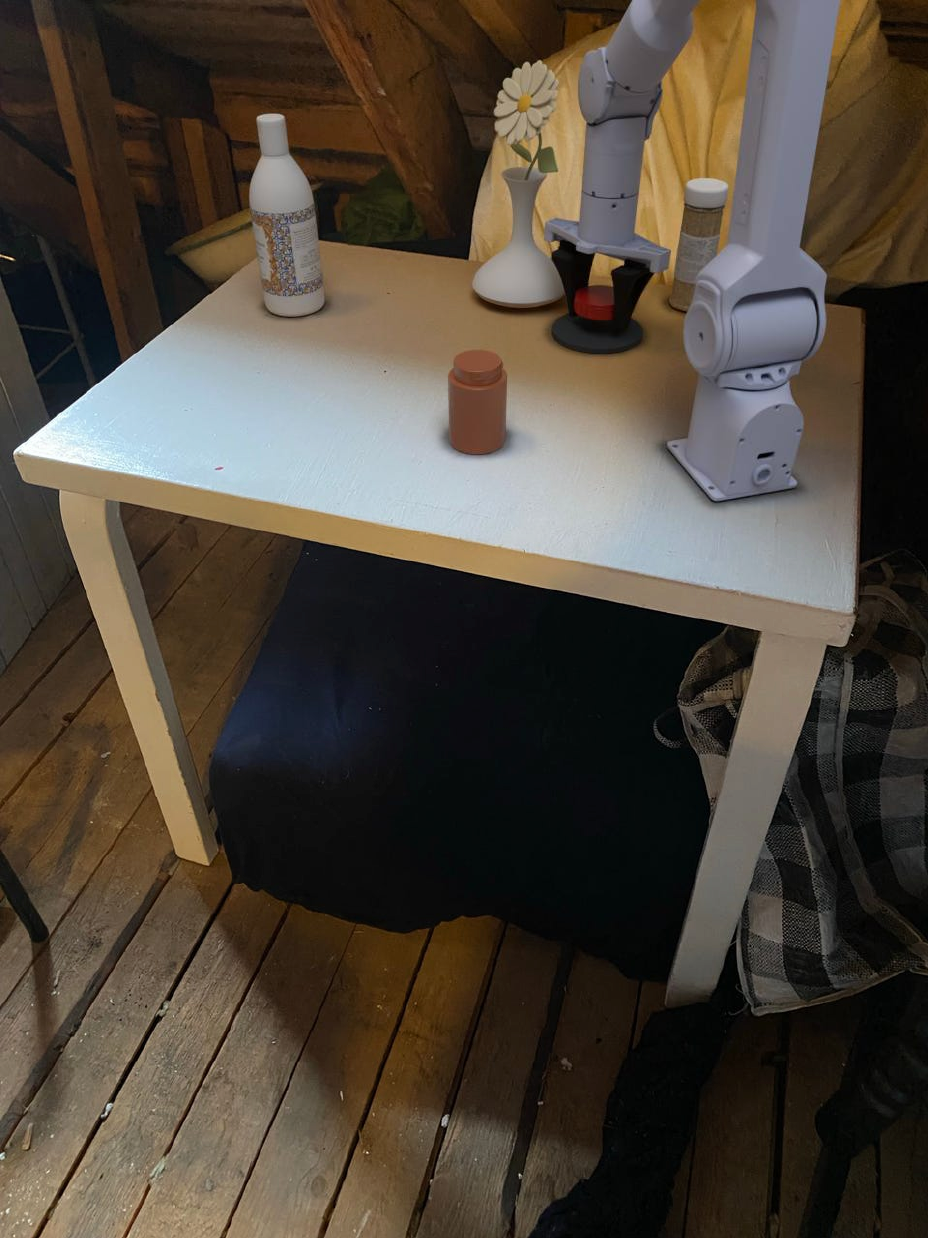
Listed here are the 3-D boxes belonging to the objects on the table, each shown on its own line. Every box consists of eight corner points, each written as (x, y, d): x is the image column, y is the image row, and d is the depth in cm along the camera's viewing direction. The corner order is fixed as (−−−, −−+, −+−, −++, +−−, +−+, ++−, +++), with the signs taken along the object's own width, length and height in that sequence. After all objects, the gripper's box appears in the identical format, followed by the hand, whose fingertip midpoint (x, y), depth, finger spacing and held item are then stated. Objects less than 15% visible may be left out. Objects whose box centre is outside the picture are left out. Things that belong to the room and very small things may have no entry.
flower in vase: (460, 285, 112) (457, 47, 95) (547, 273, 114) (559, 39, 98) (494, 329, 103) (498, 73, 86) (588, 315, 105) (610, 65, 89)
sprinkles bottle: (686, 294, 110) (704, 173, 101) (716, 306, 107) (738, 183, 98) (660, 304, 107) (677, 181, 98) (690, 316, 105) (710, 192, 96)
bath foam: (257, 301, 109) (227, 113, 96) (312, 289, 111) (290, 105, 98) (277, 322, 104) (248, 128, 91) (334, 310, 107) (314, 119, 93)
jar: (513, 449, 84) (515, 369, 78) (458, 458, 83) (457, 377, 77) (495, 422, 87) (496, 343, 82) (442, 430, 86) (440, 351, 81)
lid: (598, 295, 103) (599, 280, 102) (636, 310, 100) (638, 295, 99) (563, 309, 100) (563, 294, 99) (601, 325, 97) (603, 309, 96)
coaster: (657, 347, 99) (658, 341, 99) (570, 359, 97) (570, 353, 97) (621, 310, 106) (621, 305, 106) (539, 320, 104) (539, 315, 104)
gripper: (528, 184, 93) (523, 314, 102) (648, 216, 86) (632, 352, 95) (570, 168, 97) (562, 295, 106) (689, 197, 90) (669, 330, 99)
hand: (598, 321), depth 101 cm, fingers closed on lid, 5 cm apart
